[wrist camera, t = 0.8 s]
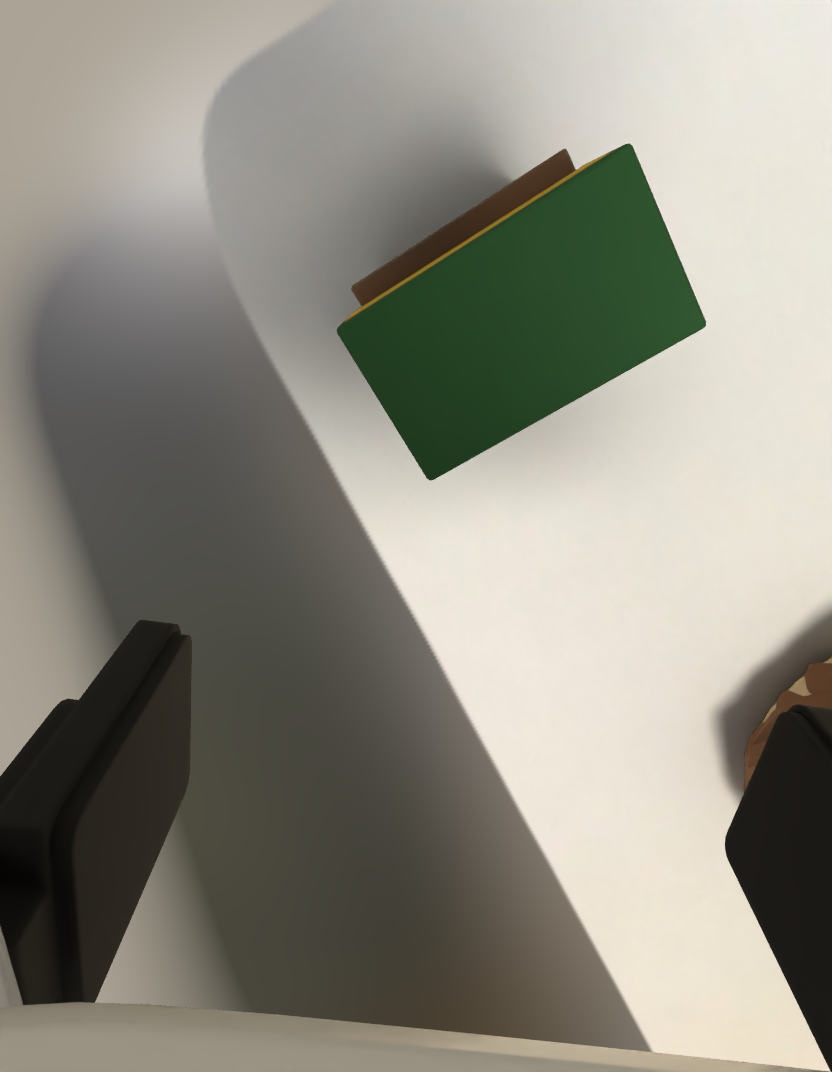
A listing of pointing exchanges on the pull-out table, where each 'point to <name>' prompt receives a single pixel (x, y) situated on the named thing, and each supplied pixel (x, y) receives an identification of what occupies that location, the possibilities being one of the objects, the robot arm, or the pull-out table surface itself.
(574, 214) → the sponge
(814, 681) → the donut
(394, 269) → the wooden block
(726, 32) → the pull-out table surface
